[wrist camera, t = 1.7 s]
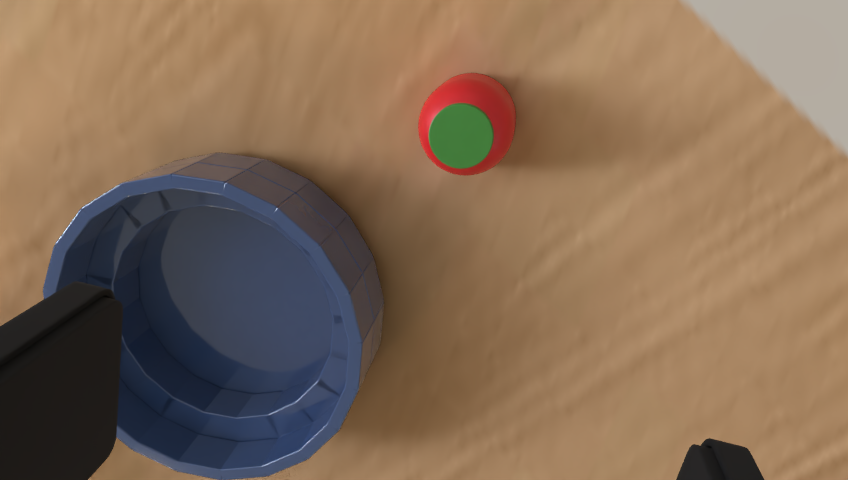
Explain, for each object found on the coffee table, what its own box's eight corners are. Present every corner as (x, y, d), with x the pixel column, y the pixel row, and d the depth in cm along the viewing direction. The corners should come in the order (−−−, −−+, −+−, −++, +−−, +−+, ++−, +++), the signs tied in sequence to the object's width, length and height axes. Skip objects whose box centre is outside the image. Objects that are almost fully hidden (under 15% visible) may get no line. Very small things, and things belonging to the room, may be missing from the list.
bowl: (399, 174, 31) (374, 203, 26) (373, 440, 35) (348, 506, 31) (103, 132, 32) (30, 153, 28) (116, 392, 37) (56, 448, 32)
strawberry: (522, 78, 29) (520, 91, 24) (508, 167, 30) (504, 193, 26) (432, 67, 29) (415, 77, 25) (423, 155, 30) (404, 179, 26)
